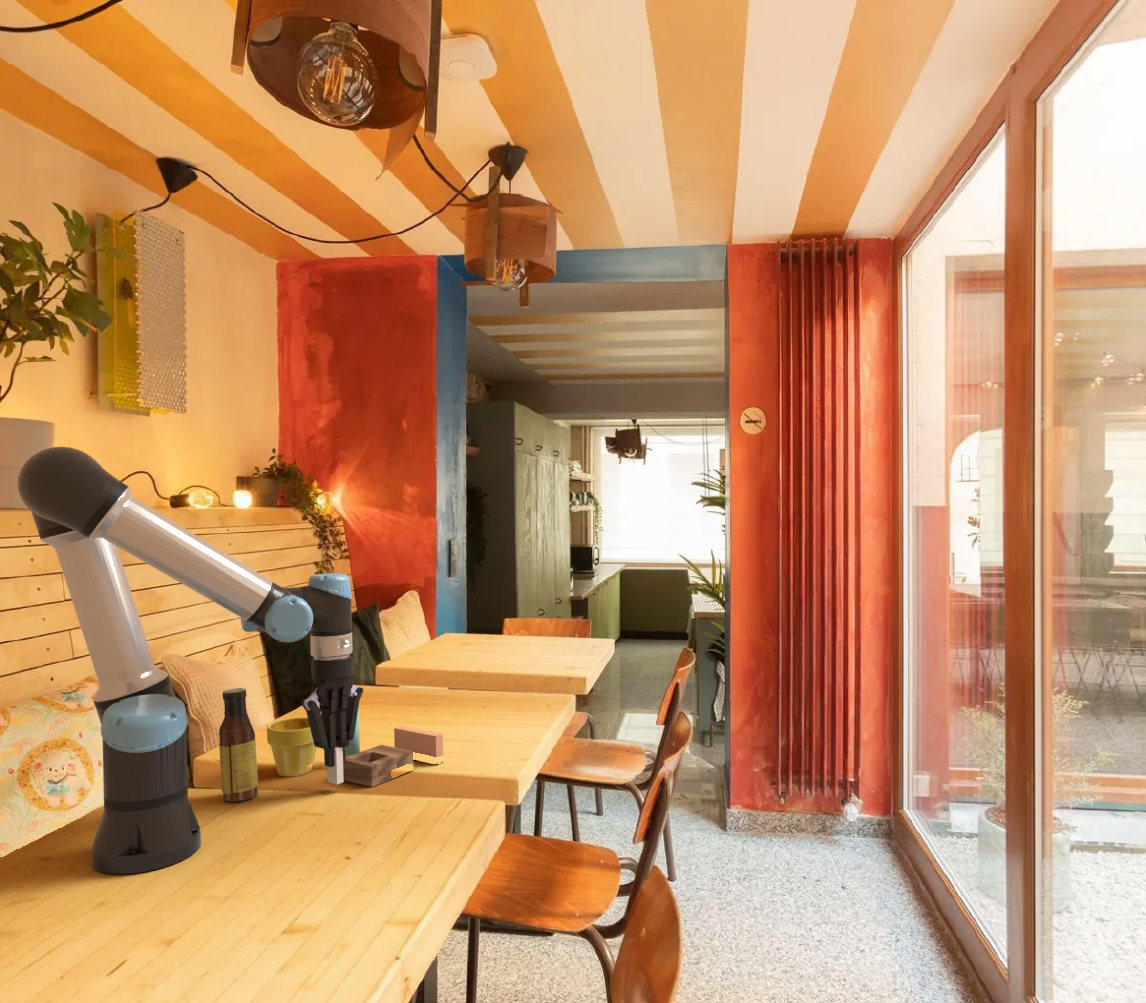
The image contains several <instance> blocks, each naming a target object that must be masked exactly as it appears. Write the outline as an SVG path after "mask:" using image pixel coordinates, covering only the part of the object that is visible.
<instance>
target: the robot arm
mask: <svg viewBox="0 0 1146 1003" xmlns="http://www.w3.org/2000/svg"><path fill="white" fill-rule="evenodd" d="M17 488H18V489H17V490H18V494H19V496H20V499H21V501H22V502H23V504H24V505H25V506H26V507H27V508H28V510H30V512H31V514H32V518H33V521H34V524H35V527H36V530H37V533H38V536H39V539H40V541H41V542H42V543H45V544H47V545H48V546H51V547H52V548H54V550H55V553H56V556H57V559H58V562H59V565H60V568H61V572H62V574H63V578H64V580H65V583H66V586H67V589H68V592H69V596H70V598H71V602H72V604H73V608H74V611H75V615H76V616H77V620H78V622H79V627H80V629H81V632H82V636H83V639H84V642H85V645H86V648H87V650H88V654H89V657H90V660H91V663H92V666H93V669H94V672H95V675H96V678H97V681H98V684H99V685H98V688H97V690H96V692H95V694H94V695H93V696H92V701H93V702H94V707H95V709H96V712H97V715H98V718H99V722H100V724H101V726H100V735H101V738H102V774H103V776H102V779H103V780H102V781H103V786H102V788H103V813H102V816H101V818H100V821H99V822H100V823H99V826H98V828H97V831H96V835H95V838H94V841H93V844H92V847H91V853H90V854H91V866H92V868H93V869H94V870H95V871H97V872H100V873H105V874H111V875H112V874H113V875H128V874H129V875H130V874H137V873H144V872H150V871H154V870H157V869H161V868H166V867H170V866H171V865H175V864H176V863H179V862H181V861H182V862H183V861H184V860H186V859H187V858H189V857H191V856H192V855H193V854H195V853H197V851H198V850H199V849H200V848H201V845H202V835H201V832H202V831H201V826H200V824H199V822H198V820H197V817H196V814H195V811H194V809H193V807H192V804H191V802H190V800H189V788H188V786H189V785H188V784H189V782H188V780H189V779H188V744H187V743H188V738H187V737H188V736H187V735H188V734H187V727H188V723H189V722H188V720H189V719H188V713H187V710H186V706H185V703H184V701H182V700H181V699H179V698H178V697H176V696H175V695H176V694H175V692H174V689H173V686H172V682H171V680H170V677H169V673H168V672H167V671H165V670H163V669H161V668H158V667H157V666H156V665H155V661H154V659H153V656H152V653H151V649H150V646H149V642H148V639H147V636H146V635H145V630H144V627H143V625H142V621H141V618H140V615H139V612H138V608H137V606H136V602H135V598H134V595H133V592H132V589H131V587H130V583H129V580H128V577H127V574H126V571H125V567H124V564H123V561H122V558H121V555H120V552H119V549H121V550H122V551H124V552H126V553H128V554H129V555H131V556H133V557H135V558H137V559H138V560H140V561H142V562H143V563H145V564H146V565H148V566H150V567H152V568H154V569H155V570H157V571H159V572H161V573H163V574H164V575H167V577H170V578H171V579H173V580H174V581H176V582H178V583H180V584H182V585H183V586H185V587H186V588H189V589H190V590H192V591H194V592H195V593H198V594H199V595H201V596H202V597H204V598H206V599H207V600H210V601H211V602H213V603H215V604H216V605H218V606H220V607H221V608H223V609H225V610H227V611H229V612H230V613H232V614H234V615H236V616H238V617H239V618H240V624H241V628H242V630H243V632H247V633H255V632H257V633H262V632H264V633H266V634H268V636H269V637H271V638H272V639H274V640H276V641H278V642H281V643H294V642H297V641H301V640H302V639H303V638H304V637H306V636H307V635H308V634H309V633H310V655H311V656H312V657H313V658H312V660H311V661H310V662H311V663H310V666H311V677H312V681H313V686H312V689H311V694H310V696H308V697H307V698H304V699H301V702H300V705H301V706H302V707H303V709H304V711H305V712H306V717H308V721H309V725H310V729H311V734H312V738H313V742H314V746H315V747H316V748H318V749H322V750H323V755H324V757H323V759H324V760H323V761H324V766H325V767H326V771H327V772H326V773H327V783H330V784H334V785H340V784H343V783H344V781H345V780H343V763H344V762H345V747H347V746H349V742H348V741H349V740H353V738H354V734H355V727H356V720H357V714H358V707H359V708H360V700H361V698H362V696H363V694H364V688H363V687H360V686H359V687H358V686H356V685H355V684H354V681H353V678H352V676H353V675H354V657H353V656H352V655H351V654H352V653H353V650H354V649H353V648H354V647H353V630H352V629H353V628H352V626H353V625H352V624H353V623H352V622H353V621H352V620H353V619H352V618H353V617H352V615H353V614H352V600H353V596H352V590H351V589H352V587H351V579H350V577H349V575H348V574H346V573H343V572H342V573H341V572H339V573H338V572H329V573H328V572H327V573H319V574H318V573H317V574H311V576H310V577H309V578H308V583H307V585H304V586H299V587H298V586H297V587H294V586H293V587H282V586H280V585H278V584H277V583H276V582H275V583H274V582H273V581H272V580H271V579H268V578H267V577H265V576H264V575H262V574H260V573H259V572H258V571H256V570H254V569H252V568H251V567H249V566H248V565H246V564H244V563H243V562H241V561H239V560H237V559H236V558H234V557H232V556H231V555H229V554H228V553H226V552H225V551H223V550H221V549H220V548H218V547H216V546H214V545H213V544H211V543H210V542H208V541H207V540H205V539H203V538H201V537H200V536H198V535H196V534H195V533H193V532H191V531H190V530H188V529H187V528H185V527H184V526H182V525H180V524H178V523H176V521H174V520H172V519H170V518H169V517H167V516H165V515H163V514H162V513H161V512H159V511H157V510H156V509H154V508H152V507H150V506H149V505H147V504H145V503H144V502H142V501H140V500H139V499H137V498H136V497H134V496H133V493H132V488H131V487H130V486H129V485H127V484H125V483H124V482H122V481H120V480H119V479H118V478H116V477H115V476H113V475H112V474H111V473H109V471H107V470H106V469H104V467H103V466H102V465H101V464H100V463H99V462H98V461H97V460H96V459H95V458H93V457H92V456H91V455H90V454H88V453H86V452H84V451H83V450H81V449H78V448H74V447H68V446H53V447H48V448H46V449H45V448H44V449H43V450H40V451H38V452H36V453H34V454H33V455H32V456H30V458H28V459H27V460H26V461H25V462H24V464H23V465H22V466H21V469H20V471H19V474H18V477H17ZM118 548H119V549H118Z"/></svg>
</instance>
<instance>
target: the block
mask: <svg viewBox="0 0 1146 1003" xmlns="http://www.w3.org/2000/svg"><path fill="white" fill-rule="evenodd" d="M411 763H413V764H414V761H413V751H409V750H405V749H400V748H395V746H389V745H384V744H380V745H376V746H374V747H370V748H368V749H365V750H362V751H360V752H359V753H356V754H353V755H350V756H347V757H345V762H344V763H343V780H344V781H347V782H350V783H355V784H358V785H362V786H367V787H371V788H373V787H375V786H378V785H380V784H383V783H386V782H388V781H391V780H393V779H392V776H391V771H392V770H393V769H396V768H399V767H401V766H404V765H406V764H411Z"/></svg>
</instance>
